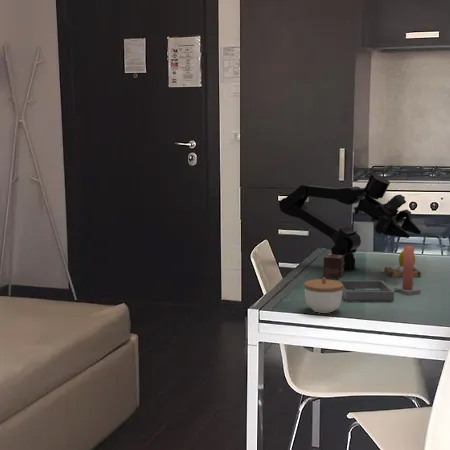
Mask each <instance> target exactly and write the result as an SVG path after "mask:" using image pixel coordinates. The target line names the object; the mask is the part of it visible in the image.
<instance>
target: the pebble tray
mask: <svg viewBox="0 0 450 450" xmlns="http://www.w3.org/2000/svg"><path fill="white" fill-rule="evenodd" d="M391 267H392V266H384V269H383V270H384V271H383V272H384V273H385V274H386V275H387V276H388V277H389V278H403V272H393V271H391V270H390V268H391ZM398 267H399V268H400V267H401V266H398ZM421 274H422V273H421V271H420V270H419V269H417V268H416V267H414V266H413V278H421Z"/></svg>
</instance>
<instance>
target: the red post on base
mask: <svg viewBox="0 0 450 450" xmlns="http://www.w3.org/2000/svg"><path fill="white" fill-rule="evenodd" d="M403 250H404V259H403V277H402V286H395V287H394V290H393V291H394V293H395V292H396V293H399V294H401V295H404V294H405V295H404V296H407V295H408V296H413V295H412V294H415V295H420V294H421V289H418V288H415V287H413V283H414V277H413V267H414V266H413V264H414V255H415V246H412V245H405V246H403ZM414 265H415V264H414ZM419 293H420V294H419Z"/></svg>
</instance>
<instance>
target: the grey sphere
mask: <svg viewBox="0 0 450 450" xmlns="http://www.w3.org/2000/svg"><path fill="white" fill-rule="evenodd" d="M390 267H391V268H390V270H391V271H393V272H399V267H400V266H398V265H396V264H393V265H392V266H390Z"/></svg>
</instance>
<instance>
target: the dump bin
mask: <svg viewBox="0 0 450 450" xmlns="http://www.w3.org/2000/svg"><path fill="white" fill-rule="evenodd" d="M338 281H339V282H341V283H343V295H342V297H343V298H344V299H343V298H342V299H343V300H344V302H345V301H394V300H395V291H394V290H393V289H392V288H391V287H390V286H388V284H387V283H385V282H384V280H338ZM356 289H362V290H356ZM363 289H364V290H363ZM365 289H366V290H365ZM367 289H376V290H367ZM377 289H380V290H377ZM394 302H395V301H394Z"/></svg>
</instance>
